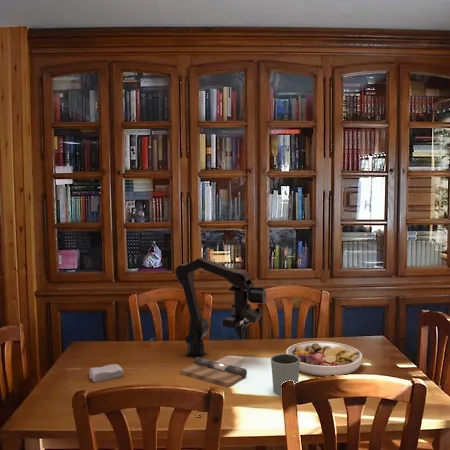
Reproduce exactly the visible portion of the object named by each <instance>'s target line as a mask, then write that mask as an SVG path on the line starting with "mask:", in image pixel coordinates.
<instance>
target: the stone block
mask: <svg viewBox="0 0 450 450" xmlns="http://www.w3.org/2000/svg"><path fill="white" fill-rule="evenodd" d="M124 373H125V372H124V369H123V368H122V367H121V366H120V365H119V364H116V363H111V364H106V365H103V366H102V367H98V366H97V367H90V368H89V372H88V376H89V377H88V378H89V379H90V380H91V381H92V382H93V383H100V382H104V381H110V380H115V379H119V378H122V377H123V376H124Z"/></svg>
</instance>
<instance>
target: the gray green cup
mask: <svg viewBox="0 0 450 450" xmlns="http://www.w3.org/2000/svg"><path fill="white" fill-rule="evenodd" d="M299 364H300V358H299V357H298V356H296V355H292V354H286V353H277V354H275V355H273V356H271V357H270V366H271V375H272V376H271V377H272V391H273V393H274V395H275V394H276V395H277V394H278V395H277V396H280V395H281V384H282V383H283V382H285V381H289V380H293V381H294V383H296V382H298V383H299V377H300V376H299V375H300V371H299ZM279 394H280V395H279Z"/></svg>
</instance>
